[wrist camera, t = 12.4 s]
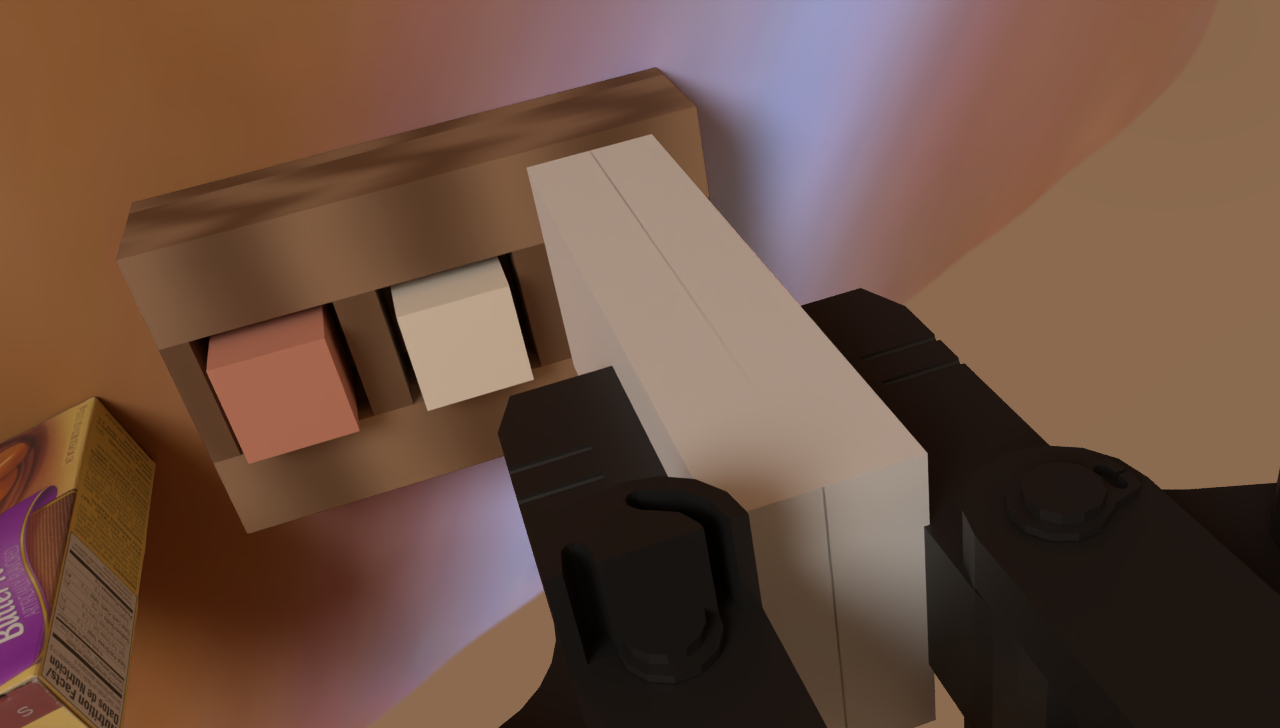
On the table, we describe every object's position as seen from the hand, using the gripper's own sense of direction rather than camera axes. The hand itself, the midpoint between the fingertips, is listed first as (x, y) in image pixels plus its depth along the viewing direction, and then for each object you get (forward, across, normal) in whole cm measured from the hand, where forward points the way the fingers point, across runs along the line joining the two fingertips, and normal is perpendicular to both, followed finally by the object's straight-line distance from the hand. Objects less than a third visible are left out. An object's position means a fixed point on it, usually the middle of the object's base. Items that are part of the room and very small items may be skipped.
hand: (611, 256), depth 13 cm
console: (+29, -2, -14) cm, 33 cm away
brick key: (+27, -8, -14) cm, 31 cm away
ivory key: (+27, -2, -14) cm, 30 cm away
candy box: (+30, -20, -18) cm, 40 cm away
